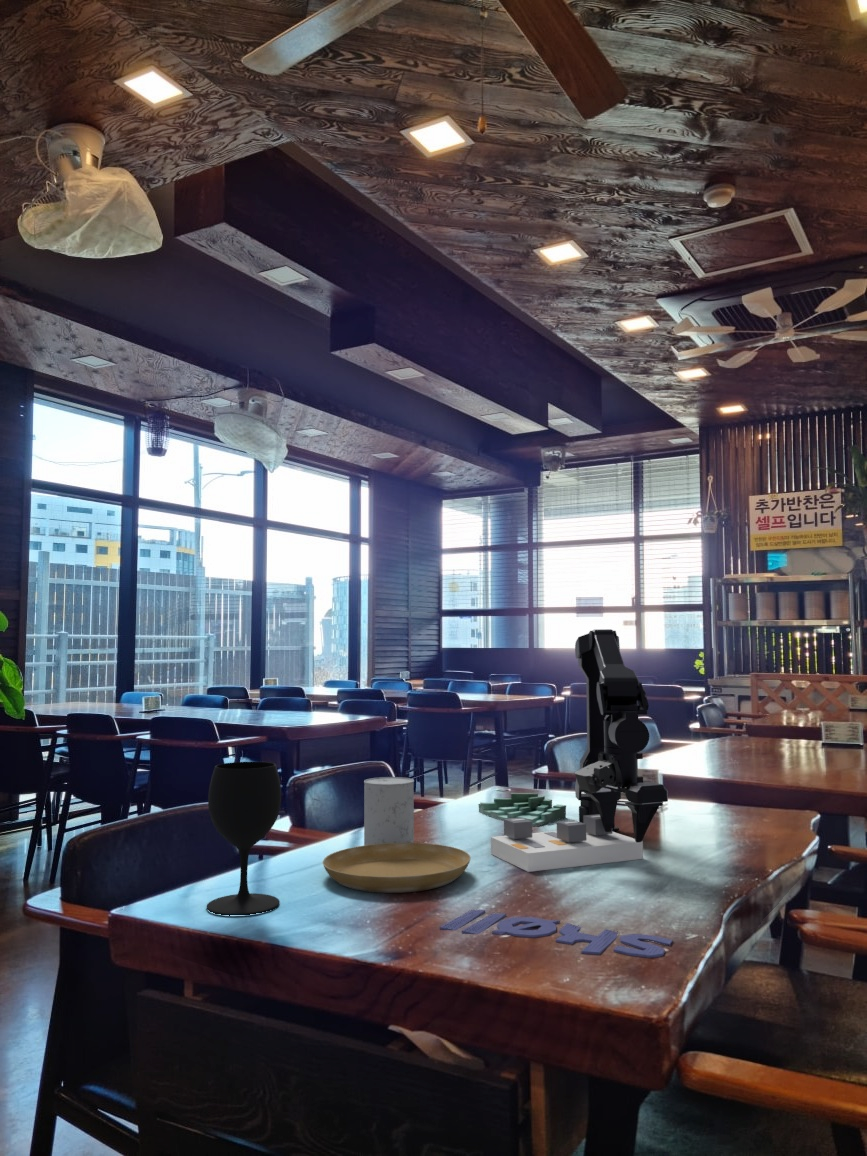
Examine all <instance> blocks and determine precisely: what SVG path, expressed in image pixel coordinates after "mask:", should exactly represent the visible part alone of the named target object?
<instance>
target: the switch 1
mask: <svg viewBox="0 0 867 1156" xmlns="http://www.w3.org/2000/svg"><path fill="white" fill-rule="evenodd" d="M532 833H533V826H532V821H529V820H527V819H524V818H511V819H504V821H503V836H508V837H510V838H513V839H521V838H531V837H532Z"/></svg>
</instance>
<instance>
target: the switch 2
mask: <svg viewBox="0 0 867 1156" xmlns="http://www.w3.org/2000/svg"><path fill="white" fill-rule="evenodd" d="M583 823H584V824H586V832H588V833H591V834H593V835H603V834H612V832H613V831H612V830H611V832H605V829H604V826H603V823H602V820H601V817H600V814H597V815H585V816H583Z"/></svg>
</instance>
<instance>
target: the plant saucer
mask: <svg viewBox="0 0 867 1156" xmlns="http://www.w3.org/2000/svg"><path fill="white" fill-rule="evenodd" d="M471 858H472V857H471V855H470V854H469V853H468V852H467V851H465V850H463V849H460V848H457V847H453V846H448V845H444V844H443V845H442V844H436V843H426V842H425V843H424V842H414V843H384V844H373V845H365V846H364V845H359V846H353V847H349V848H344V849H341V850H338V851H334V852H332V853H331V854H328V855H327V856H326V857H325V856H324V859H323V860H322V865H323V869H325V871H326V873H327V874H328V875H329V876H330V877H331V878H332V879H333V880H334V881H335V882H337V883H338V884H339V885H341V886H344V887H345V888H349V889H352V890H356V891H360V892H361V891H363V892H369V893H383V894H384V893H385V894H387V893H389V894H395V893H397V894H398V893H399V894H401V893H412V892H414V893H415V892H422V891H428V890H433V889H436V888H437V889H438V888H441V887H444V886H447V885H448V884H450V883H452V882H454V881H455V880H457V879H458V878H460V876H461V875H462V874H463V873H464V872H465V871H466V870H467V868H468V866H469V864H470V861H471Z"/></svg>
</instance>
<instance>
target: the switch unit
mask: <svg viewBox="0 0 867 1156" xmlns="http://www.w3.org/2000/svg"><path fill="white" fill-rule="evenodd" d="M490 855H492V856H493V857H497V858H499V859H500V860H503V861H505V862H507V863H508V864H511V865H513V866H516V867H518V868H519V869H521V870H523V871H526V872H527V873H530V872H531V873H532V872H537V871H538V872H539V871H540V872H541V871H549V870H556V869H564V868H565V869H566V868H575V867H582V866H592V865H601V864H608V863H609V864H610V863H618V862H628V861H635V860H644V842H643V840H642V842H636V841H635V837H634V838H633V837H631V836H627V835H624V834H621V833H618V832H615V831H612V834H603V835H593V834H591V833H588V832H586V841H576V842H567V841H564V840H562V839H559V838H557V830H552V831H542V832H532V837H531V838H521V839H513V838H510V837H508V836H506V835H498V836H490Z"/></svg>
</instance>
